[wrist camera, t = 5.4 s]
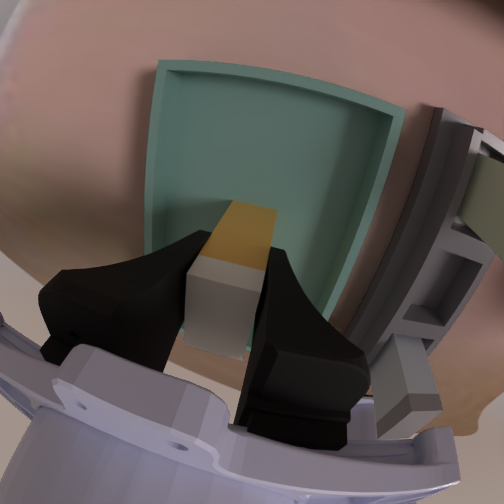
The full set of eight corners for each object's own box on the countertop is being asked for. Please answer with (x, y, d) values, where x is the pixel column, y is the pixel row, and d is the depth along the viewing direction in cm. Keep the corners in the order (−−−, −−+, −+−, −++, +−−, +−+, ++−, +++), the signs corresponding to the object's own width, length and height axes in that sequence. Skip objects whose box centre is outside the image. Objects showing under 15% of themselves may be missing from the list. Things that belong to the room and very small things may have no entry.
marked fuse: (263, 266, 16) (242, 360, 10) (224, 256, 17) (183, 344, 11) (277, 210, 15) (261, 292, 9) (233, 199, 15) (186, 273, 9)
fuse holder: (403, 362, 20) (409, 388, 17) (333, 353, 20) (334, 382, 18) (512, 155, 10) (539, 167, 8) (435, 107, 11) (461, 110, 8)
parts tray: (306, 337, 20) (305, 363, 17) (162, 300, 20) (148, 322, 18) (388, 108, 11) (406, 110, 9) (179, 65, 12) (158, 59, 10)
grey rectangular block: (393, 359, 18) (407, 438, 12) (367, 355, 18) (377, 439, 12) (416, 326, 17) (443, 410, 11) (389, 321, 17) (411, 411, 11)
